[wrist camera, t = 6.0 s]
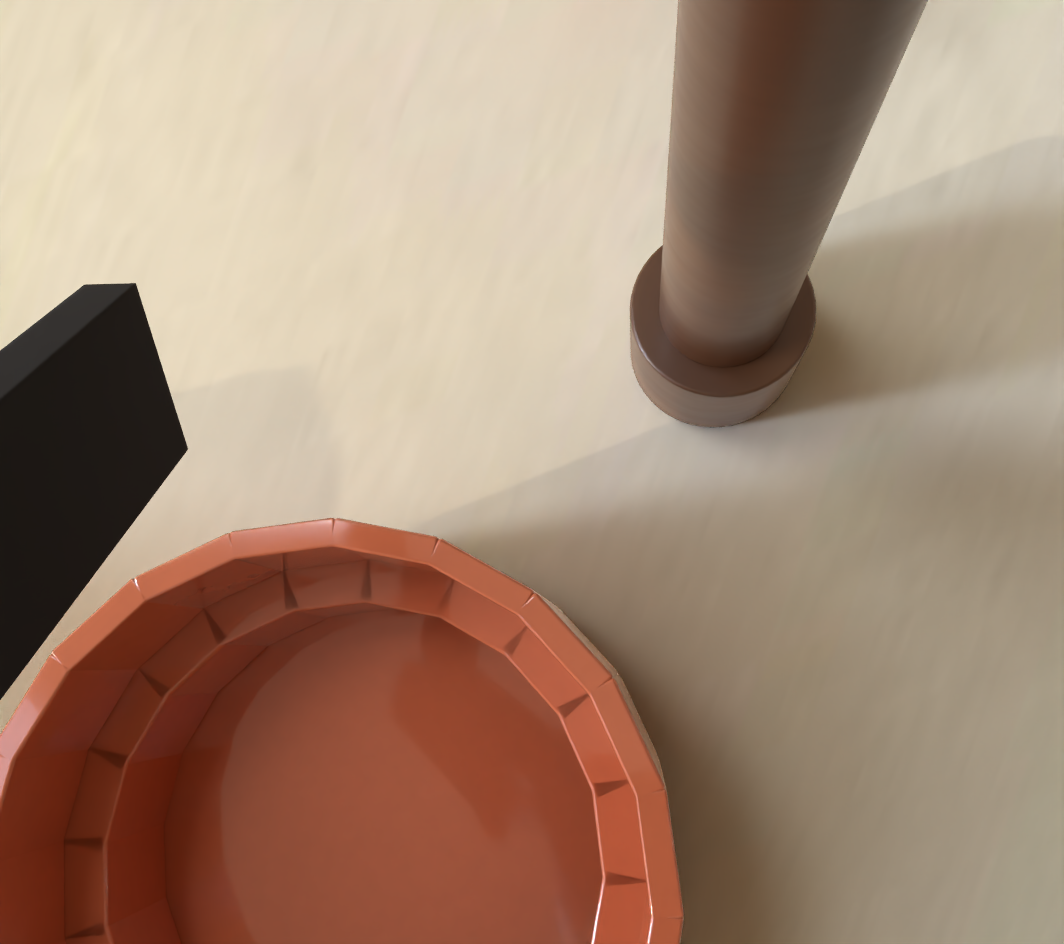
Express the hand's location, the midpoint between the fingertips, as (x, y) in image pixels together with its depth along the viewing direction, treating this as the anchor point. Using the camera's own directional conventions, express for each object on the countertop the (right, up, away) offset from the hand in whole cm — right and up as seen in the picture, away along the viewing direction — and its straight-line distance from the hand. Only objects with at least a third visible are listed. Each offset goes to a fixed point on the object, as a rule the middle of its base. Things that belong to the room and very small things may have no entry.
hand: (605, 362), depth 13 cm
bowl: (-5, -11, +11) cm, 16 cm away
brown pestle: (+4, +2, +12) cm, 13 cm away
